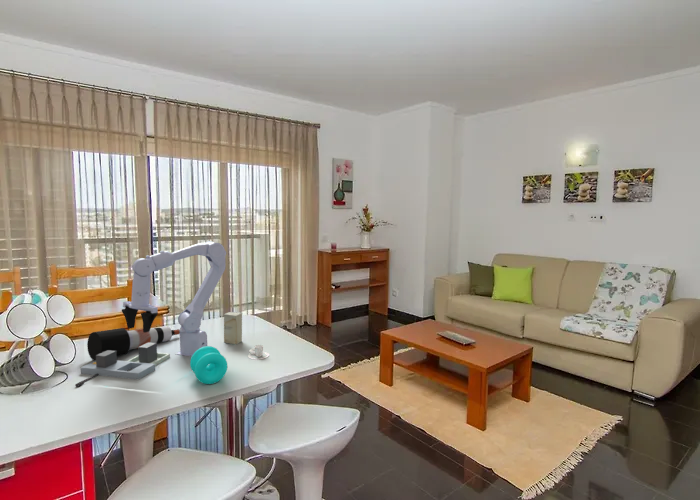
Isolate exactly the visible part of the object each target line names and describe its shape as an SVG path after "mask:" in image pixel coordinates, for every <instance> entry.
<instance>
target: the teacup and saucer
mask: <svg viewBox="0 0 700 500" xmlns="http://www.w3.org/2000/svg"><path fill="white" fill-rule="evenodd" d="M248 353H249V354H248V355H247V357H248V358H249V359H251V360H255V361H256V360H257V361H258V360H265V359H267V358H268V357H270V353H269V352H266V351H264V345H262V344H257V345H255V346H254V348H253V347H252V348H250V349H249V350H248ZM263 354H265V355H266V356H264V357H262V356H263ZM253 355H254V356H256V357H257V358H255V357H252V356H253ZM258 357H261V358H258Z"/></svg>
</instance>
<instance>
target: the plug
mask: <svg viewBox="0 0 700 500" xmlns="http://www.w3.org/2000/svg"><path fill="white" fill-rule="evenodd" d="M157 345H158V343H149V342H148V343H146V344H144V345H142V346H139V347H138V348H137V350H138V355H139V362H140V363H151V362H153V361H155V360H156V359H157V353H158V347H157Z"/></svg>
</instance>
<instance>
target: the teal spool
mask: <svg viewBox="0 0 700 500" xmlns="http://www.w3.org/2000/svg"><path fill="white" fill-rule="evenodd" d="M189 366H190V369H191V371H192V372H193V373H194V374H195V377H196V379H197V381H199V383H202V384H204V385H214V384H216V383H218V382H219V381H220V380H222V379H223V378H224V376H225V375H226V373H227V371H228V361H227V359H226V357H224V355H222V354H221V352H220V351H219V350H218V348H216V347H214V346H210V345H207V346H205V347H202V348H200V349H198V350H197V351H196V352H195V353H194V354H193V355H192V356H190V364H189Z"/></svg>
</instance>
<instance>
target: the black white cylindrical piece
mask: <svg viewBox="0 0 700 500" xmlns="http://www.w3.org/2000/svg"><path fill="white" fill-rule="evenodd" d="M179 330H180V328H178V329H171V328H170V327H169V326H161V327H151V328H150V331H149V332H143V328H140V329H139V328H138V329H134V330H133V329H132V330H127V329H126V328H123V327H120V328H114V329H106V330H99V331H92V332H91V333H90V334H89V336H88V337H87V345H86V346H87V353H88V355H89V357H90V359H92V361H96V355H98V354H100V353H102V352H105V351H107V350H111V351H116V353H117V357H119V356H123V355H124V356H125V355H127V354H128V352H129V351H131V350H135V349H136V350H138V347H139V346H142V345H144V344H146V343H148V342H149V343H157V344H160V343H165V342H169V341H170V340H171V339H172V337H173V336H176V335H180V333H179Z"/></svg>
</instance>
